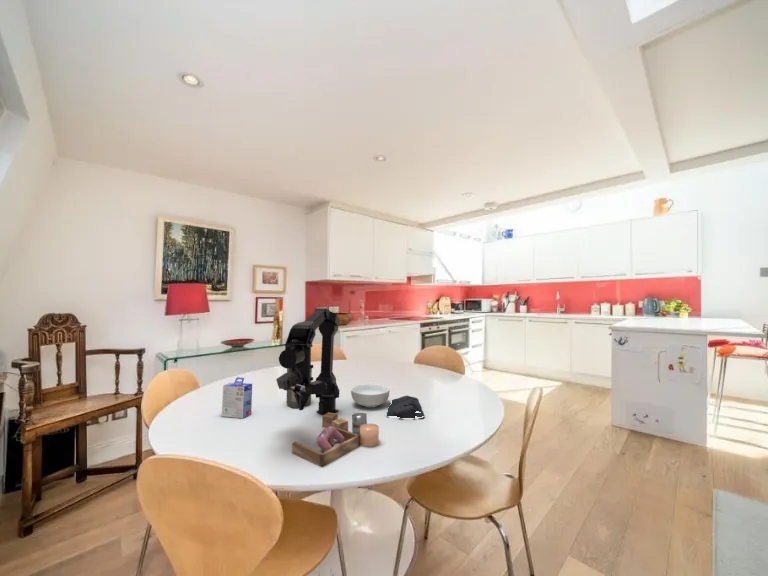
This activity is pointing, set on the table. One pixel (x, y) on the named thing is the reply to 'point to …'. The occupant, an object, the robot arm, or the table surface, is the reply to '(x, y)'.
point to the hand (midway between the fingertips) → (301, 410)
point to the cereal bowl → (370, 394)
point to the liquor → (292, 400)
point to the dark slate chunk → (405, 407)
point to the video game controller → (329, 438)
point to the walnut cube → (328, 419)
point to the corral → (330, 455)
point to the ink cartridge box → (237, 399)
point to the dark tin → (358, 422)
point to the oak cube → (340, 424)
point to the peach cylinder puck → (369, 435)
